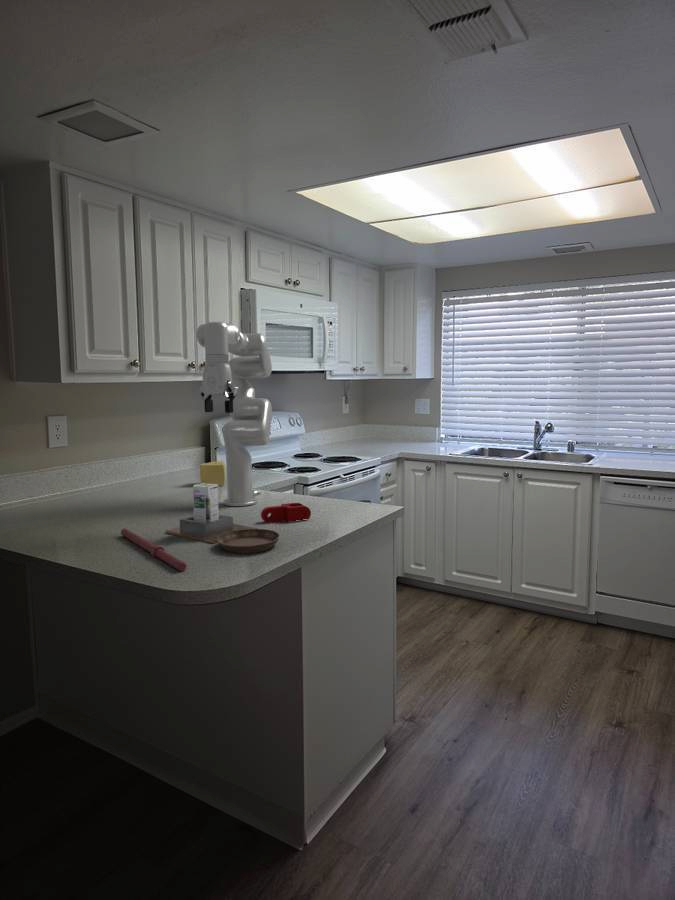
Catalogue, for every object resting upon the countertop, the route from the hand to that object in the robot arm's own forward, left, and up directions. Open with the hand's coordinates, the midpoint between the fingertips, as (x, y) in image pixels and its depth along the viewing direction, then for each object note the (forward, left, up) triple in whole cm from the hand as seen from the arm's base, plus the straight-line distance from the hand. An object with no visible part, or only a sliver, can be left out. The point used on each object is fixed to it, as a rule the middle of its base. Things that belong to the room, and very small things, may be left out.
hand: (219, 412), depth 206 cm
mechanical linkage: (-11, +18, -37) cm, 43 cm away
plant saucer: (+19, +31, -37) cm, 52 cm away
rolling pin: (+39, +12, -37) cm, 55 cm away
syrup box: (+16, +10, -36) cm, 40 cm away
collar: (+14, +10, -36) cm, 40 cm away
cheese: (-45, -54, -37) cm, 79 cm away
